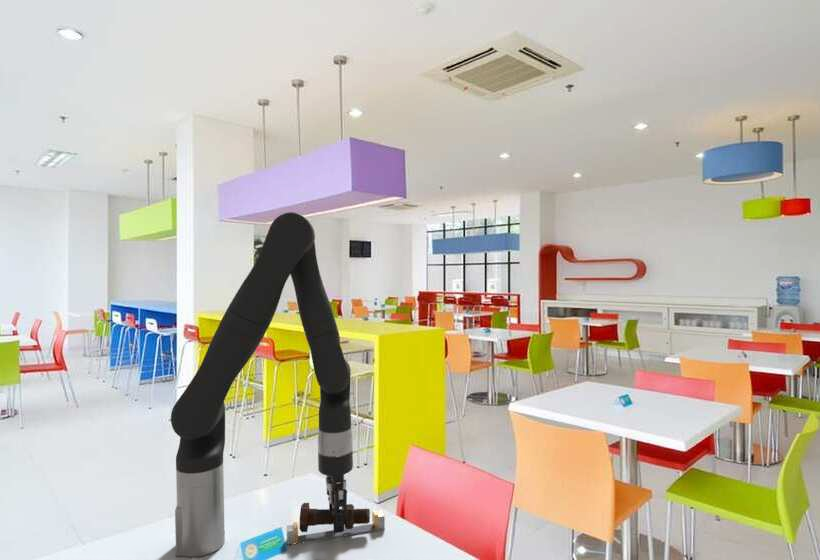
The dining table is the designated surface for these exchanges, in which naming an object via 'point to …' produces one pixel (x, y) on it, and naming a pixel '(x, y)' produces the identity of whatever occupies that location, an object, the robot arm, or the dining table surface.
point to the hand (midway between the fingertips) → (336, 524)
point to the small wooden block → (378, 520)
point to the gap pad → (332, 534)
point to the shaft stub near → (292, 533)
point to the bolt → (331, 517)
